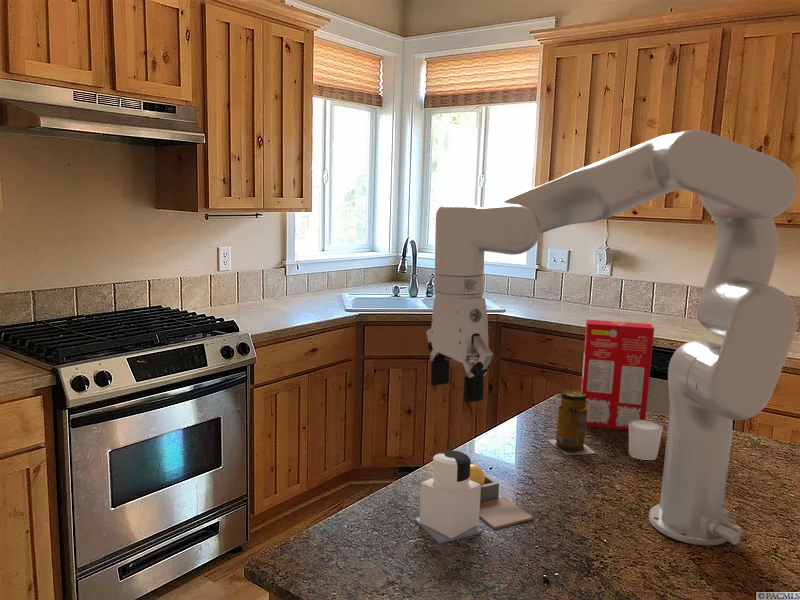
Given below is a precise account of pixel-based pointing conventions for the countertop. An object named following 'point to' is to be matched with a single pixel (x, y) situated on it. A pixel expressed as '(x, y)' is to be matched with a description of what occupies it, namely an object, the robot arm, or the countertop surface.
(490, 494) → the dome housing
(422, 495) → the medicine bottle
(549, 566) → the countertop surface
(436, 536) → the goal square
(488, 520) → the step square
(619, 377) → the food packaging
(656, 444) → the white tapered cylinder
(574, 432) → the condiment
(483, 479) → the dome
